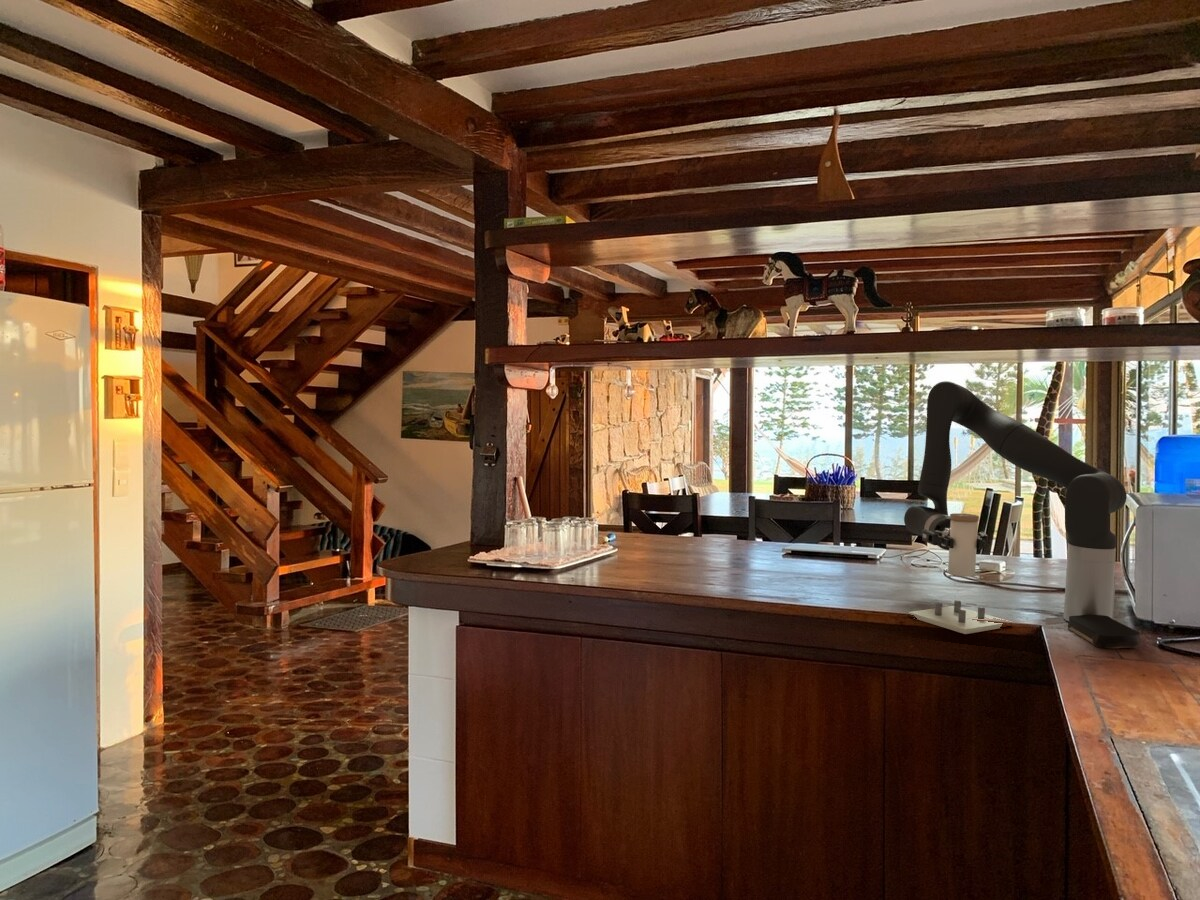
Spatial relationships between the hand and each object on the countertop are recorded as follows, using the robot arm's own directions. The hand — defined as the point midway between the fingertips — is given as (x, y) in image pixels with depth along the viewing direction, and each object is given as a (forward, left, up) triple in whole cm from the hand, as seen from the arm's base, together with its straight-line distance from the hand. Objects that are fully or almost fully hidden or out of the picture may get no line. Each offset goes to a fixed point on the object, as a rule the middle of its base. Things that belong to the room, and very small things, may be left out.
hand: (966, 544), depth 179 cm
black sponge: (-18, +20, -18) cm, 32 cm away
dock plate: (-1, -2, -18) cm, 18 cm away
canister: (-1, -2, -7) cm, 7 cm away
